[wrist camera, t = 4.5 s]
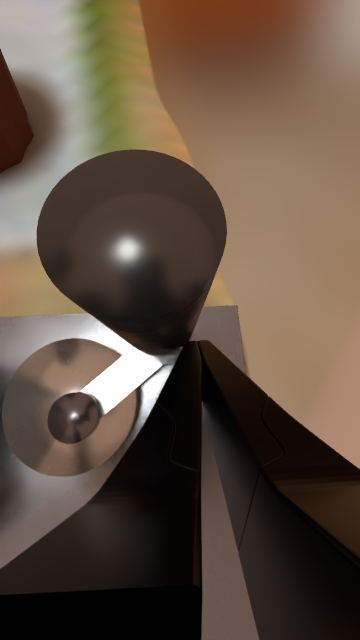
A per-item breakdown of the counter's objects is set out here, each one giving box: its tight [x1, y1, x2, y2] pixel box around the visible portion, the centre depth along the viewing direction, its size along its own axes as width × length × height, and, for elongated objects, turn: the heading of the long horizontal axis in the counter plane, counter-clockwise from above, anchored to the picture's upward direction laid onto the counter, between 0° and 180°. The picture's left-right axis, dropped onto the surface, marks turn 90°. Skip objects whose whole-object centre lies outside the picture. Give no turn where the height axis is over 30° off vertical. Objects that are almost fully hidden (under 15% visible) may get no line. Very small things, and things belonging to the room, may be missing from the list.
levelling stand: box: [0, 306, 259, 640], centre depth 10 cm, size 22×17×8 cm
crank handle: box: [2, 150, 227, 477], centre depth 9 cm, size 7×11×12 cm, turn 131°
